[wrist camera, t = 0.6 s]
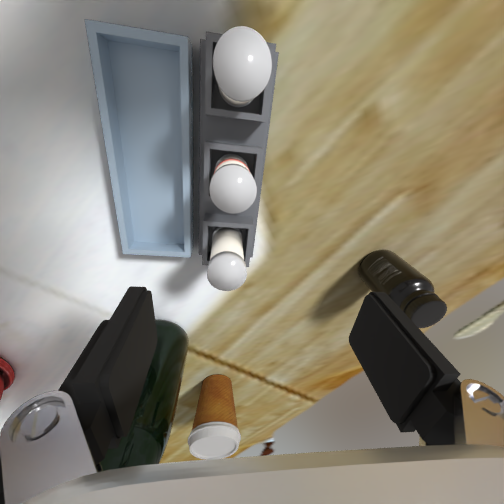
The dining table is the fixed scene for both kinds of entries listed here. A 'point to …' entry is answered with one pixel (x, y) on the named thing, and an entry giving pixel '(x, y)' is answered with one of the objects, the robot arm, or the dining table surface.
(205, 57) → the fuse holder
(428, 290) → the supplement bottle
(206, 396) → the disposable coffee cup
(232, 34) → the ball
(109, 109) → the parts tray
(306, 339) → the dining table surface
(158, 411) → the green wine bottle
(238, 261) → the fuse
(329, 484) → the robot arm
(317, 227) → the dining table surface
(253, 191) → the cylinder
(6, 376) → the plant pot
